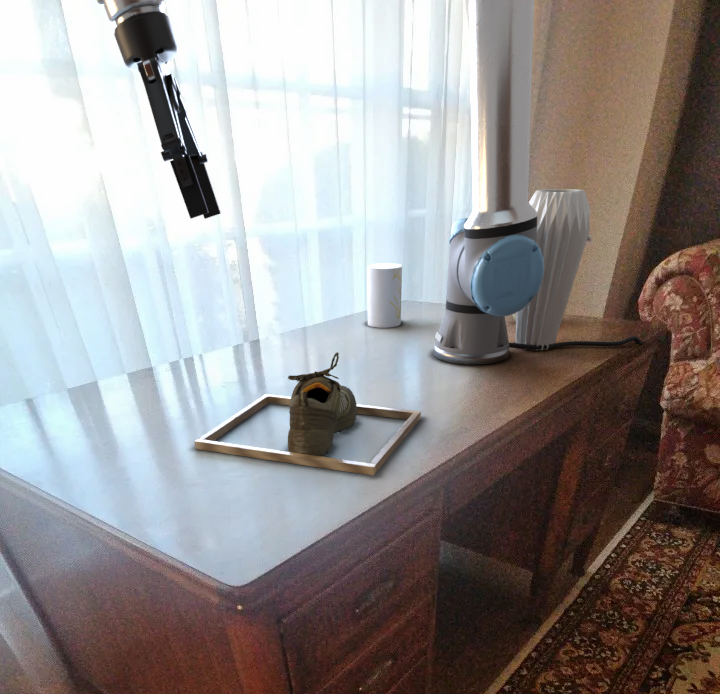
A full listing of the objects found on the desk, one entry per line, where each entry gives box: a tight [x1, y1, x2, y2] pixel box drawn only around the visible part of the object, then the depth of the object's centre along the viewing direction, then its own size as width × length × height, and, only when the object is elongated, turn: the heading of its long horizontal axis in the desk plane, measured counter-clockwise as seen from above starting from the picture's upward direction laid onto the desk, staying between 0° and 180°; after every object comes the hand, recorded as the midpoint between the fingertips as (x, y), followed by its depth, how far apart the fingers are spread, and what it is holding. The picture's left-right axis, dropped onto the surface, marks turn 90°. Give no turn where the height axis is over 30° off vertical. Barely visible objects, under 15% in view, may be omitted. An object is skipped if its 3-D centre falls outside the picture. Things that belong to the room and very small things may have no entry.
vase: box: [514, 188, 591, 351], centre depth 114 cm, size 13×13×26 cm
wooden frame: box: [193, 393, 422, 477], centre depth 88 cm, size 28×22×1 cm
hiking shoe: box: [287, 351, 357, 457], centre depth 84 cm, size 8×20×12 cm, turn 166°
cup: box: [366, 262, 403, 329], centre depth 137 cm, size 8×8×12 cm
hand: (206, 216), depth 87 cm, fingers open, 13 cm apart
